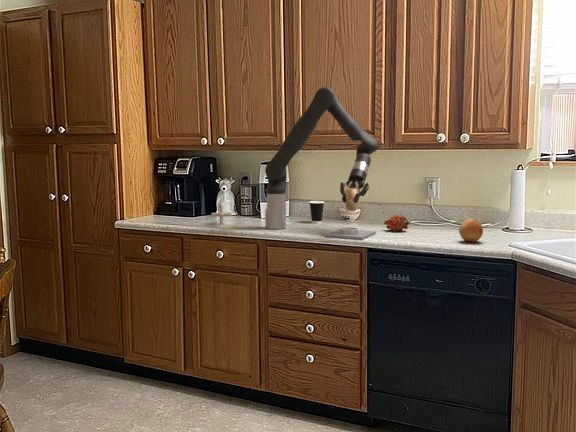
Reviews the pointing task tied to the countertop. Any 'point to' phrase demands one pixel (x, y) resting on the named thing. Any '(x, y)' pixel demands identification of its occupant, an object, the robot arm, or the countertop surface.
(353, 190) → the tan cylinder
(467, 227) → the onion
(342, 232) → the hub plate
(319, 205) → the dixie cup
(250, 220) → the countertop surface
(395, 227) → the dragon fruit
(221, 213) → the pipe connector
